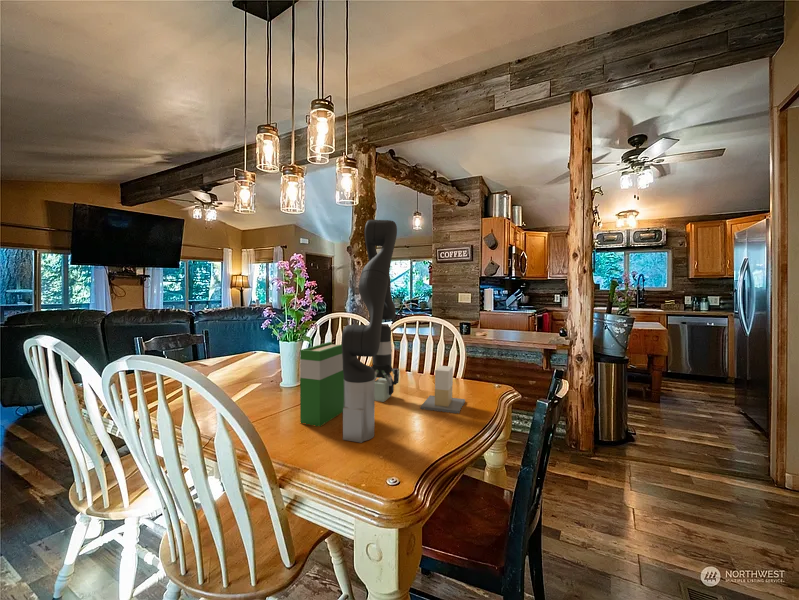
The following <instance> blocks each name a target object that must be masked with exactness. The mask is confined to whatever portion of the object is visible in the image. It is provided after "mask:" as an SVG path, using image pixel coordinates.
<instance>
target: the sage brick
mask: <svg viewBox="0 0 799 600" xmlns="http://www.w3.org/2000/svg"><path fill="white" fill-rule="evenodd" d="M391 397H392V394H391V395H389V383H388V381H386V379H385V378H376V380H375V402H382V403H383V402H386V401H387V400H388V399H389V398H391Z"/></svg>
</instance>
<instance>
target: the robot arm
mask: <svg viewBox="0 0 799 600" xmlns="http://www.w3.org/2000/svg"><path fill="white" fill-rule="evenodd" d="M396 223H397V222H395V221H393V220H391V219H368V220H367V221H366V223H365V226H364V240H365V241H364V242H365V247H366V254H367V258H368V262H367V263H366V264H365V265H364V267H363V269H362V270H361V273H360V277H359V282H358V287H357V288H358V293H359V295H360V298H361V299H362V302H363V303H364V305H365V307H366V309H367V312H368V315H369V324H368V325H367V324H366V325H365V324H347V325H345V326H344V328H343V330H342V333H341V334H342V335H341V344H342V359H343V374H344V408H343V412H342V440H343V441H348V442H349V441H350V442H355V443H360V444H361V443H364V442H365V441H369V440H371V439H373V438H375V405H376V404H375V403H376V401H375V381H376V380H377V379H379V378H385V379H386V381H388V383H389V395H391V396H392V395H393V394H394V391H395V389H394V388H395V387H394V386H395V385H397V384H399V378H400V368H393V366H392V361H393V360H392V358H393V357H392V352H393V351H392V350H393V349H392V348H393V347H392V328H391V327H390V326H389V325H385V324H383V320H384V321H388V320H389V321H390V320H393V319H394V318H395V317H396V315H397V309H396V306H395V303H394V300H393V297H392V286H391V284H392V283H391V276H390V270H391V262H392V257H393V253H394V250H395V249H394V248H395V245H396V240H397V236H398V227H397V224H396ZM377 247H381V249H380V250H379V251H378V252H377ZM358 357H366V358H367V357H369V358H370V357H372V366H370V365H367V364H365V363H363V362H362V360H360V359H358ZM391 373H392V374H391ZM392 375H393V376H392Z"/></svg>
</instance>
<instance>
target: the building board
mask: <svg viewBox="0 0 799 600" xmlns="http://www.w3.org/2000/svg"><path fill="white" fill-rule="evenodd" d="M465 403H466V399H465V398H457V397H453V385H452V386H451V388H450V389H449V390H439V389H435V388H434V395H432V394H431V395H428V397H427V398H426V399H425V400H424V402H423V403H422V404H421V405H420V410H424V409H425V410H426V411H427V410H428V411H433V410H434V411H433V412H441V411H442V412H443V413H449V412H450V413H449V414H457V413H458V415H459V414H460V412H461V411H462V409H463V407H464V405H465ZM462 406H463V407H462ZM461 408H462V409H461ZM460 410H461V411H460Z"/></svg>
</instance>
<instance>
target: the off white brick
mask: <svg viewBox="0 0 799 600" xmlns="http://www.w3.org/2000/svg"><path fill="white" fill-rule="evenodd" d="M434 371H435V372H434V390H435V389H439V390H449V389H450V388H451V386H452V387H453V383H454V381H453V378H454V377H453V376H454V375H453V374H454V373H453V372H454V367H453V366H450V365H449V366H448V365H447V366H446V365H439V366H438V367H437V368H436V369H435V370H434Z"/></svg>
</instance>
